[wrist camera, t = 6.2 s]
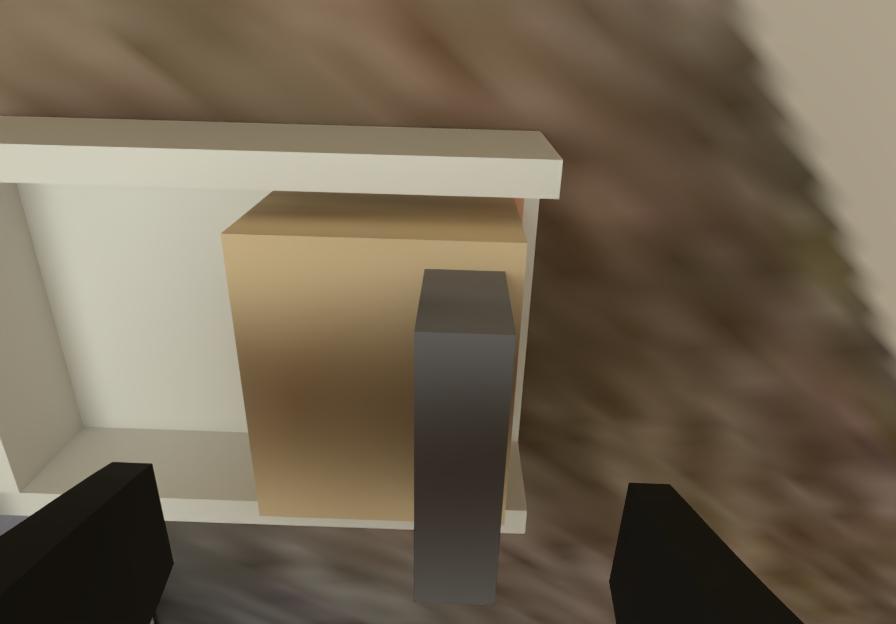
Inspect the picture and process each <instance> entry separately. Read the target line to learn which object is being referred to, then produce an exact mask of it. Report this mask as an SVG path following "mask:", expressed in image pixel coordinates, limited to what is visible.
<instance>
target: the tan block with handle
mask: <svg viewBox="0 0 896 624" xmlns="http://www.w3.org/2000/svg"><path fill="white" fill-rule="evenodd" d="M221 241H222V248H223V255H224V262H225V270H226V277H227V284H228V291H229V299H230V306H231V313H232V320H233V327H234V335H235V342H236V349H237V356H238V363H239V371H240V378H241V385H242V392H243V399H244V407H245V414H246V421H247V428H248V436H249V443H250V450H251V457H252V464H253V472H254V479H255V486H256V493H257V500H258V508H259V515H260V516H274V517H302V518H330V519H358V520H385V521H413V522H414V602H420V603H446V604H473V605H495V593H496V581H497V568H498V556H499V543H500V531H501V525H504V522H505V510H506V498H507V486H508V474H509V461H510V449H511V437H512V425H513V413H514V401H515V389H516V377H517V365H518V353H519V341H520V329H521V317H522V305H523V293H524V281H525V269H526V257H527V245H528V243H527V239H526V236H525V233H524V230H523V226H522V223H521V220H520V216H519V213H518V210H517V207H516V203H515V200H514V198H506V197H472V196H438V195H405V194H371V193H338V192H304V191H272V192H271V193H270V194H268V195H267V196H266V197H265V198H263V199H262V200H261V201H260V202H259V203H257V204H256V205H255V206H254V207H252V208H251V209H250V210H249V211H248V212H246V213H245V214H244V215H243V216H241V217H240V218H239V219H238V220H237V221H235V222H234V223H233V224H232V225H231V226H229V227H228V228H227V229H226V230H224V231H223V232H222V233H221Z"/></svg>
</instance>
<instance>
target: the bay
mask: <svg viewBox="0 0 896 624" xmlns="http://www.w3.org/2000/svg"><path fill="white" fill-rule="evenodd" d="M562 165H563V159H562V158H561V157H560V155H559V154H558V153H557V152H556V150H555V149H554V148H553V147H552V145H551V144H550V143H549V142H548V140H547V139H546V138H545V136H544V135H543V134H542V133H541V131H520V130H485V129H450V128H415V127H380V126H345V125H309V124H274V123H239V122H204V121H169V120H134V119H99V118H64V117H29V116H0V515H22V516H31V515H32V514H34V513H35V512H37V511H38V510H40V509H41V508H42V507H44V506H45V505H47V504H48V503H50V502H51V501H53V500H54V499H56V498H57V497H59V496H60V495H62V494H63V493H65V492H66V491H68V490H69V489H71V488H72V487H74V486H75V485H77V484H78V483H80V482H81V481H83V480H84V479H86V478H87V477H89V476H90V475H92V474H94V473H95V472H97V471H98V470H100V469H102V468H103V467H105V466H106V465H108V464H110V463H111V462H128V463H152V464H153V469H154V474H155V478H156V483H157V488H158V492H159V497H160V502H161V506H162V511H163V516H164V521H188V522H215V523H243V524H270V525H298V526H326V527H353V528H381V529H409V530H414V522H413V521H385V520H358V519H330V518H302V517H274V516H260V515H259V508H258V500H257V493H256V486H255V479H254V472H253V464H252V457H251V450H250V443H249V436H248V428H247V421H246V414H245V407H244V399H243V392H242V385H241V378H240V371H239V363H238V356H237V349H236V342H235V335H234V327H233V320H232V313H231V306H230V299H229V291H228V284H227V277H226V270H225V262H224V255H223V248H222V241H221V233H222V232H223V231H224V230H226V229H227V228H228V227H229V226H231V225H232V224H233V223H234V222H235V221H237V220H238V219H239V218H240V217H241V216H243V215H244V214H245V213H246V212H248V211H249V210H250V209H251V208H252V207H254V206H255V205H256V204H257V203H259V202H260V201H261V200H262V199H263V198H265V197H266V196H267V195H268V194H270V193H271V192H272V191H304V192H338V193H371V194H405V195H438V196H472V197H506V198H514V200H515V203H516V207H517V210H518V213H519V216H520V220H521V223H522V226H523V230H524V233H525V236H526V239H527V243H528V245H527V257H526V269H525V281H524V293H523V305H522V317H521V329H520V341H519V353H518V365H517V377H516V389H515V401H514V413H513V425H512V437H511V449H510V461H509V474H508V486H507V498H506V510H505V522H504V525H501V531H500V533H519V534H525V526H526V516H527V507H526V499H525V492H524V484H523V477H522V469H521V461H520V454H519V446H518V435H519V424H520V412H521V401H522V390H523V379H524V367H525V356H526V345H527V334H528V322H529V311H530V300H531V288H532V277H533V266H534V255H535V243H536V232H537V221H538V210H539V199H559V195H560V185H561V175H562Z"/></svg>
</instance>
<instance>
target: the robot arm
mask: <svg viewBox="0 0 896 624" xmlns="http://www.w3.org/2000/svg"><path fill="white" fill-rule="evenodd" d="M173 564H174V563H173V558H172V553H171V549H170V544H169V539H168V535H167V530H166V525H165V521H164V516H163V511H162V506H161V502H160V497H159V492H158V488H157V483H156V478H155V474H154V469H153V464H152V463H128V462H111V463H110V464H108V465H106V466H105V467H103V468H102V469H100V470H98V471H97V472H95V473H94V474H92V475H90V476H89V477H87V478H86V479H84V480H83V481H81V482H80V483H78V484H77V485H75V486H74V487H72V488H71V489H69V490H68V491H66V492H65V493H63V494H62V495H60V496H59V497H57V498H56V499H54V500H53V501H51V502H50V503H48V504H47V505H45V506H44V507H42V508H41V509H40V510H38V511H37V512H35V513H34V514H32V515H31V516H22V515H0V624H154V621H153V615H154V613H155V610H156V608H157V606H158V603H159V601H160V598H161V595H162V593H163V590H164V588H165V585H166V582H167V580H168V577H169V574H170V572H171V569H172V566H173ZM609 583H610V589H611V595H612V601H613V606H614V612H615V618H616V624H804V623H803V622H802V621H801V620H800V619H799V618H798V617H797V616H796V615H795V614H794V613H793V612H792V611H791V610H790V609H788V608H787V607H786V606H785V605H784V604H783V603H782V602H781V601H780V600H779V599H778V598H777V597H776V596H775V595H774V594H773V593H772V592H771V591H770V590H769V589H768V588H767V586H766V585H765V584H764V583H763V582H762V581H761V580H760V579H759V578H758V577H757V576H756V575H755V574H754V573H753V572H752V571H751V570H750V569H749V568H748V567H747V566H746V565H745V564H744V563H743V562H742V561H741V560H740V559H739V558H738V557H737V556H736V555H735V553H734V552H733V551H732V550H731V549H730V548H729V547H728V546H727V545H726V544H725V543H724V542H723V541H722V540H721V539H720V538H719V537H718V535H717V534H716V533H715V532H714V531H713V530H712V529H711V528H710V527H709V526H708V525H707V524H706V523H705V522H704V520H703V519H702V518H701V517H700V516H699V515H698V514H697V513H696V512H695V511H694V510H693V509H692V508H691V506H690V505H689V504H688V503H687V502H686V501H685V500H684V499H683V498H682V497H681V496H680V495H679V494H678V493H677V492H676V491H675V489H674V488H673V487H672V486H671V485H670V484H646V483H629V485H628V490H627V495H626V500H625V505H624V510H623V515H622V520H621V525H620V530H619V535H618V540H617V545H616V550H615V555H614V560H613V565H612V570H611V575H610V580H609Z"/></svg>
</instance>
